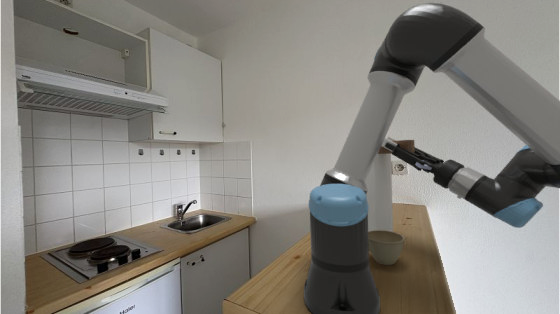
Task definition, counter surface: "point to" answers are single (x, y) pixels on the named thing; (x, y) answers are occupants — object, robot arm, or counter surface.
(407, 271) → the counter surface
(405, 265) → the counter surface
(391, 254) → the flower pot
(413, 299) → the counter surface
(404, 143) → the batten
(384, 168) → the riser
